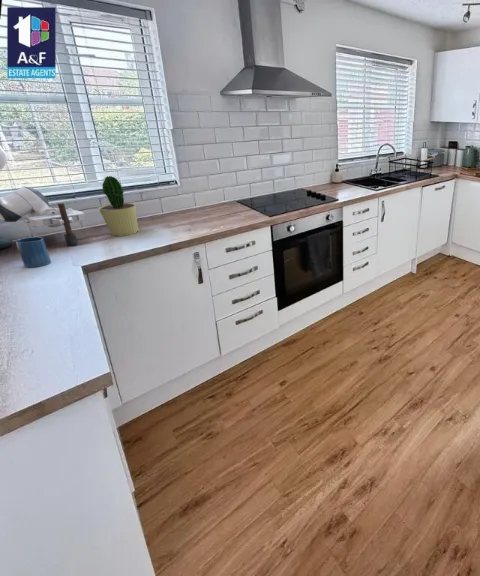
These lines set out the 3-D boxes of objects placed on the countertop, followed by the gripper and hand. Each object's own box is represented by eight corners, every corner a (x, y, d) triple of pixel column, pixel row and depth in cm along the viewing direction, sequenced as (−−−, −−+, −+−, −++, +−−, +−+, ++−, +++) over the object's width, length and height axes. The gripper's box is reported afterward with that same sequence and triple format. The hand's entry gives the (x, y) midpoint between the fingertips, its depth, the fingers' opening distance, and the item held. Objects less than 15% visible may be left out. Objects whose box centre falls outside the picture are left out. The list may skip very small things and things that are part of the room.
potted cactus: (105, 234, 191) (86, 174, 178) (139, 228, 200) (123, 171, 187) (110, 241, 181) (89, 178, 168) (145, 235, 190) (129, 175, 177)
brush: (67, 248, 166) (54, 204, 159) (68, 246, 169) (55, 202, 162) (78, 247, 168) (65, 203, 161) (79, 245, 171) (67, 202, 164)
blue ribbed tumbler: (22, 268, 141) (13, 243, 138) (26, 262, 148) (18, 238, 144) (49, 265, 145) (41, 241, 142) (52, 260, 152) (45, 236, 148)
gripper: (20, 214, 160) (35, 218, 154) (74, 207, 177) (90, 211, 171) (24, 228, 162) (40, 232, 157) (78, 220, 179) (93, 224, 173)
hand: (67, 221), depth 164 cm, fingers closed on brush, 2 cm apart
